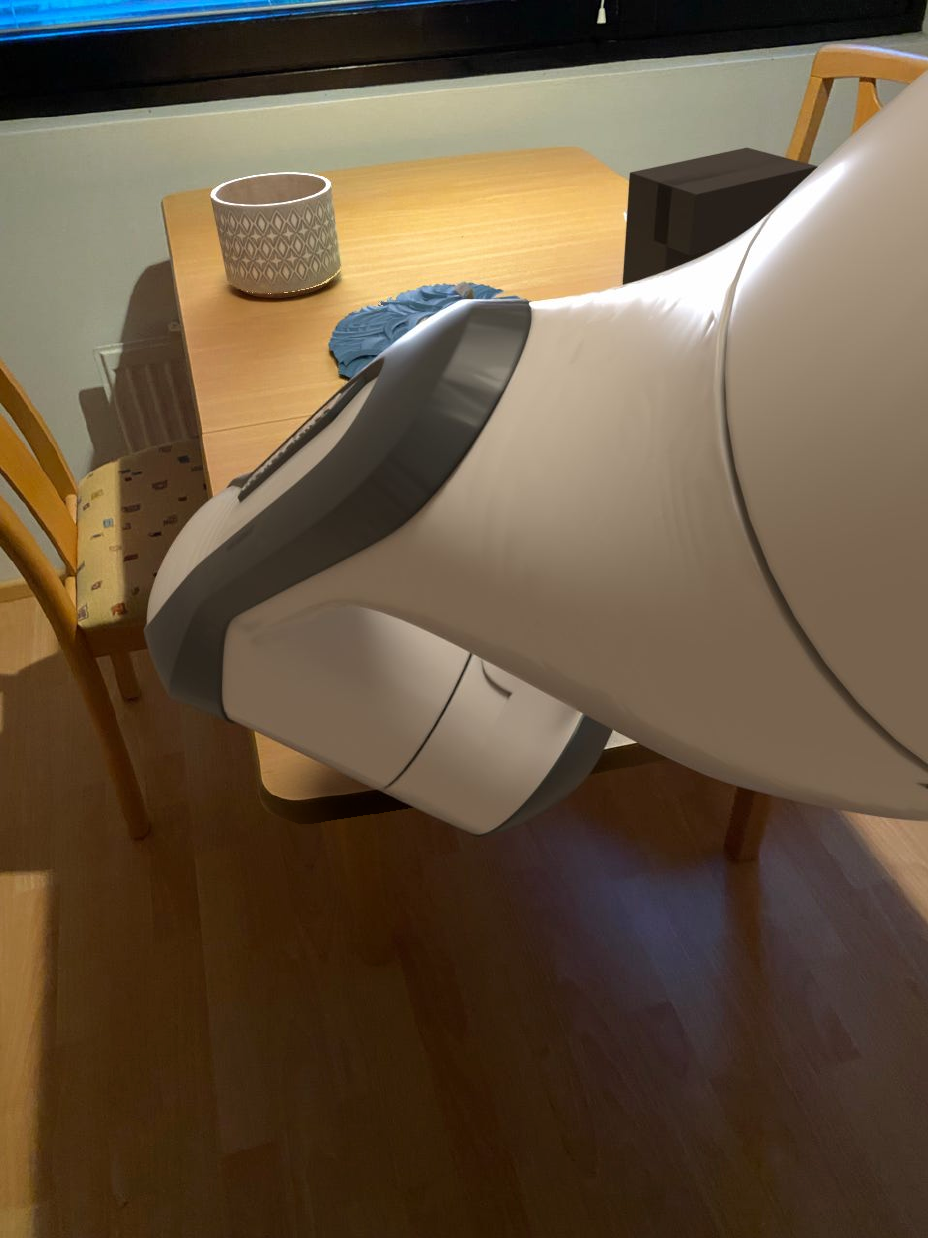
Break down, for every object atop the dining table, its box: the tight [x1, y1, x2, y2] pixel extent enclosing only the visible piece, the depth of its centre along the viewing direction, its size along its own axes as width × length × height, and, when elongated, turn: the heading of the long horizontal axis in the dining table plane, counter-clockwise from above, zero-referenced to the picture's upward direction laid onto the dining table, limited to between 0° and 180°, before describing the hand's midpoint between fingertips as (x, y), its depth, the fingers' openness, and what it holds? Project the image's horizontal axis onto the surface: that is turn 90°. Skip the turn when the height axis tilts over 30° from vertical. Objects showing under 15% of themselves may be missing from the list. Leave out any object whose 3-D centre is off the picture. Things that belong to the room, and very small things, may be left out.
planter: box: [209, 172, 342, 299], centre depth 131 cm, size 16×16×13 cm
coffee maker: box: [621, 147, 819, 285], centre depth 87 cm, size 19×14×24 cm
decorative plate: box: [327, 280, 532, 379], centre depth 114 cm, size 30×30×5 cm
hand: (410, 608), depth 61 cm, fingers open, 8 cm apart
